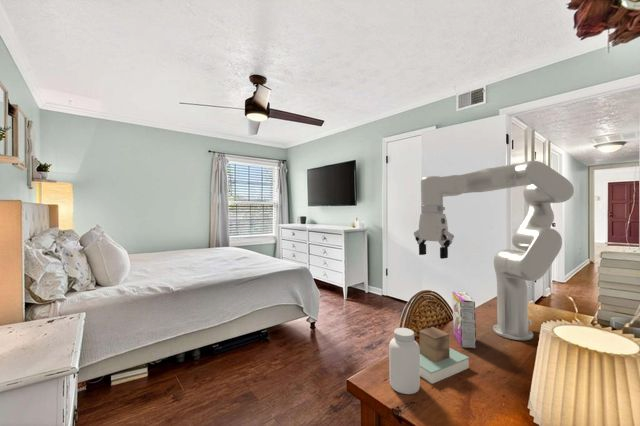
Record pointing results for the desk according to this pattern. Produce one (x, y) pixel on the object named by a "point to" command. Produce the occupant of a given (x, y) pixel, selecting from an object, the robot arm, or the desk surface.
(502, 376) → the desk surface
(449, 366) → the book
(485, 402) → the desk surface
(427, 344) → the walnut block
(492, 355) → the desk surface
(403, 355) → the pill bottle
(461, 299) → the candy bar box
